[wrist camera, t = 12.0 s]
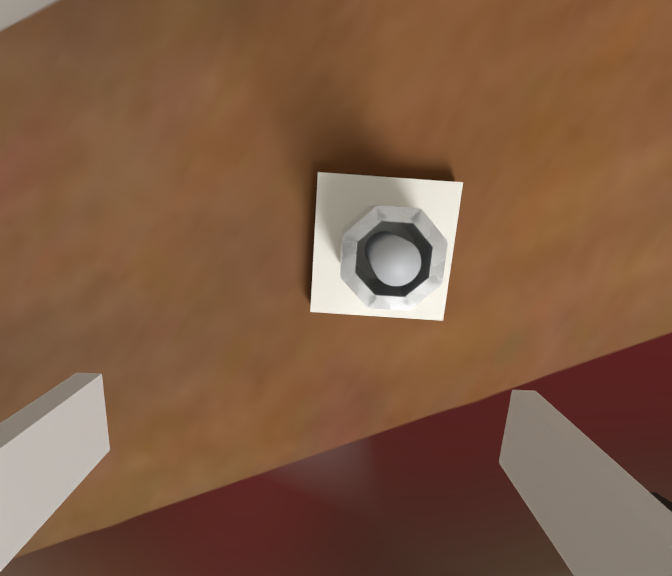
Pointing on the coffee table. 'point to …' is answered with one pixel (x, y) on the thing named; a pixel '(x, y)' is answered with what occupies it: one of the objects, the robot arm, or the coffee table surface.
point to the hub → (425, 241)
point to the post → (378, 239)
